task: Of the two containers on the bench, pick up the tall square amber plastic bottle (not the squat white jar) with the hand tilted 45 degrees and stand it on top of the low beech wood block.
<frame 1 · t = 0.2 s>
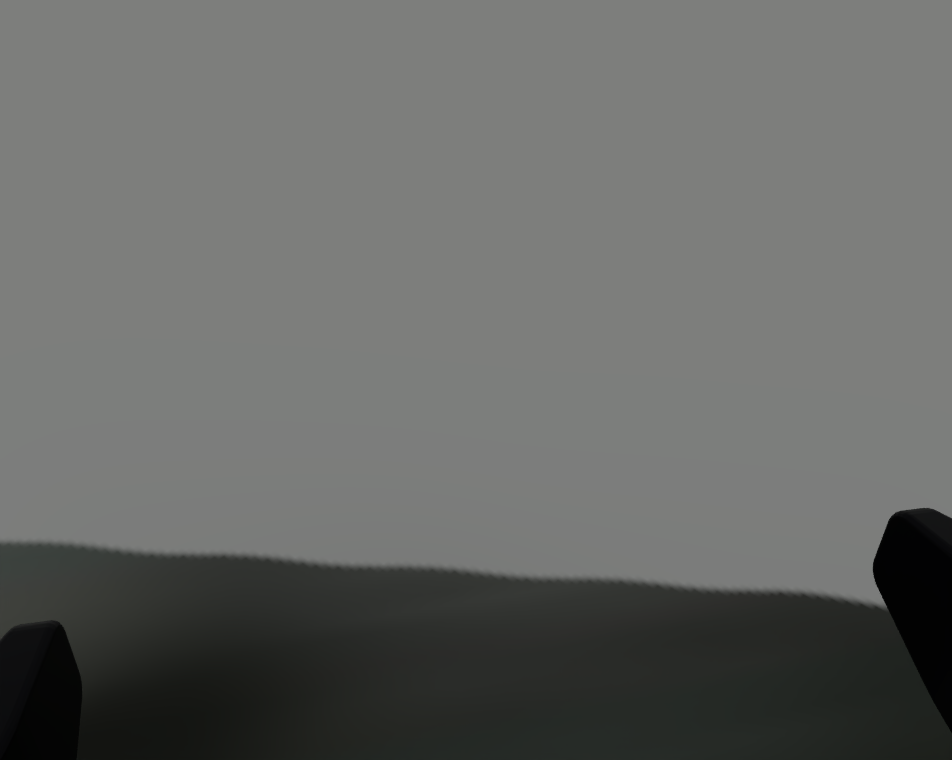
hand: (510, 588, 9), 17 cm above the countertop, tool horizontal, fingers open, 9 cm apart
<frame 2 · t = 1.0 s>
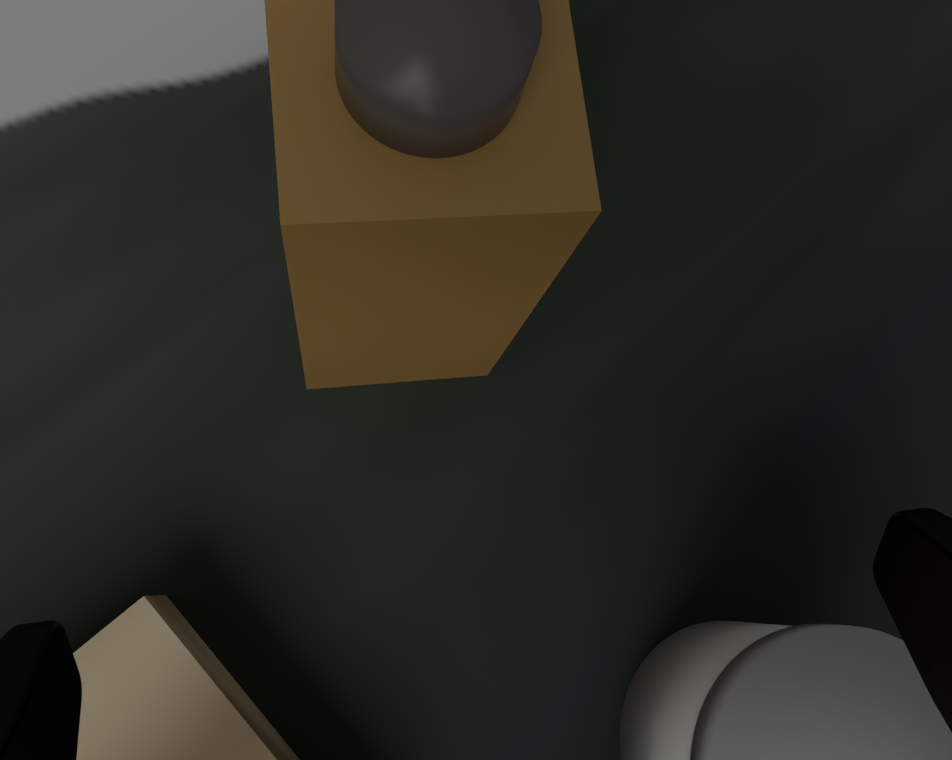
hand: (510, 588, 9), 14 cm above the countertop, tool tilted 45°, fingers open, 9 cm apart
white jar: (727, 737, 23), on the countertop
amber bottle: (390, 296, 24), on the countertop
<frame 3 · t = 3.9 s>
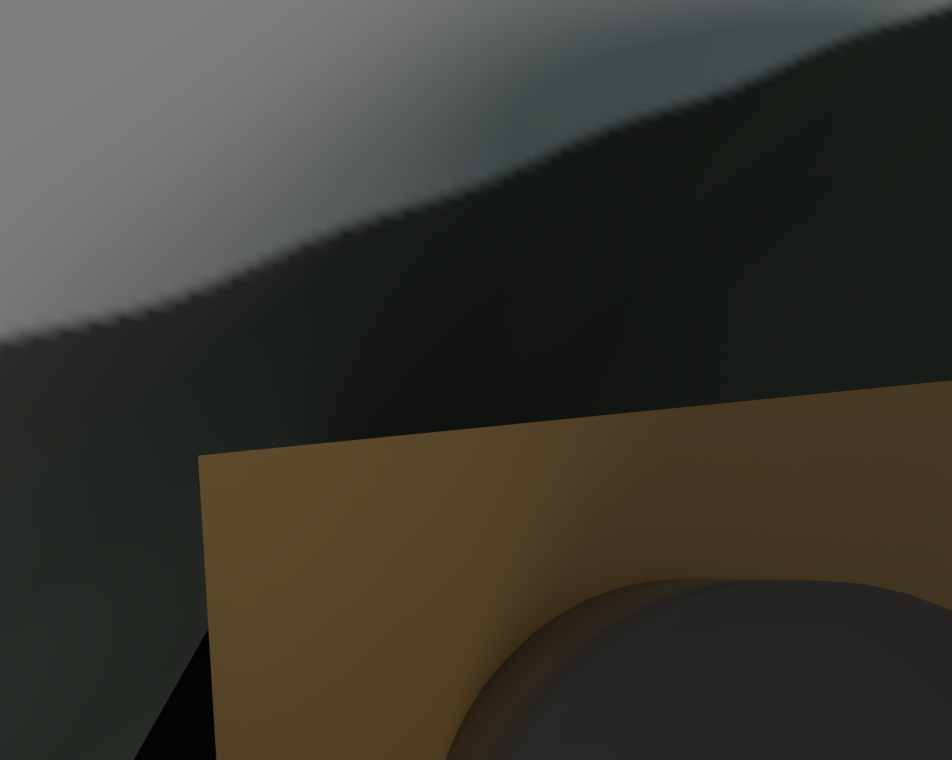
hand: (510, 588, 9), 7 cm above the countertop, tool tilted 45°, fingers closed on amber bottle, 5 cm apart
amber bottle: (448, 662, 15), on the countertop, touching gripper
when the fingers open (10 cm above the countertop, at t = 7.8 s): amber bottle stays where it is, point 3 cm above the countertop.
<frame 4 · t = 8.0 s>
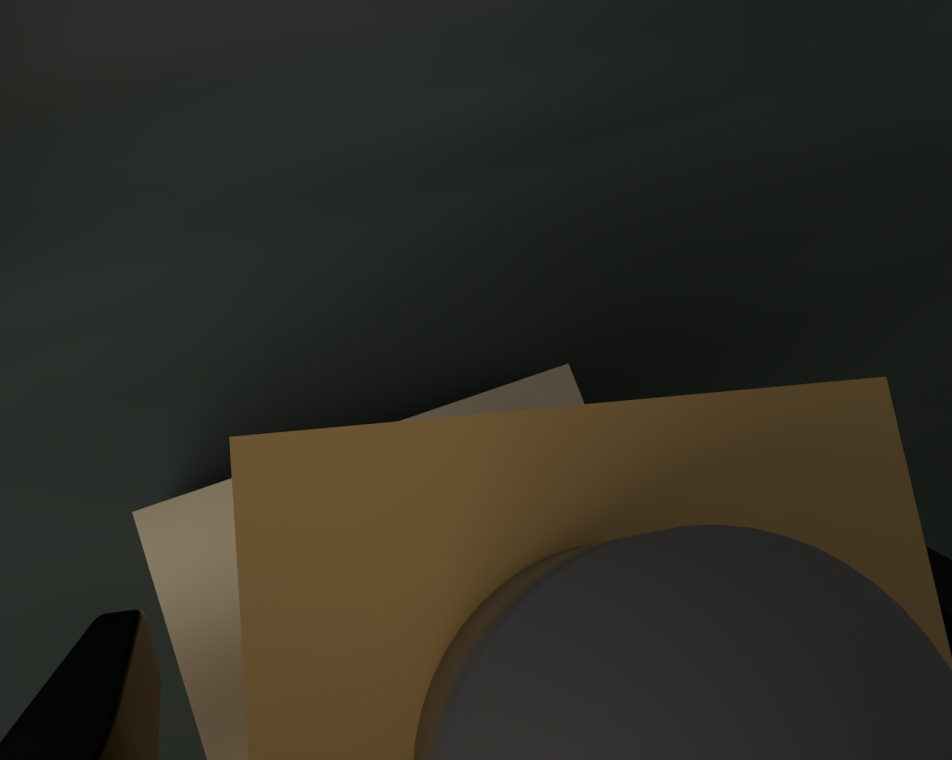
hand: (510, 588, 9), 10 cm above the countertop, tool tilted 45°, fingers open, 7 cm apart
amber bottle: (443, 656, 16), point 3 cm above the countertop
beech block: (425, 643, 19), on the countertop
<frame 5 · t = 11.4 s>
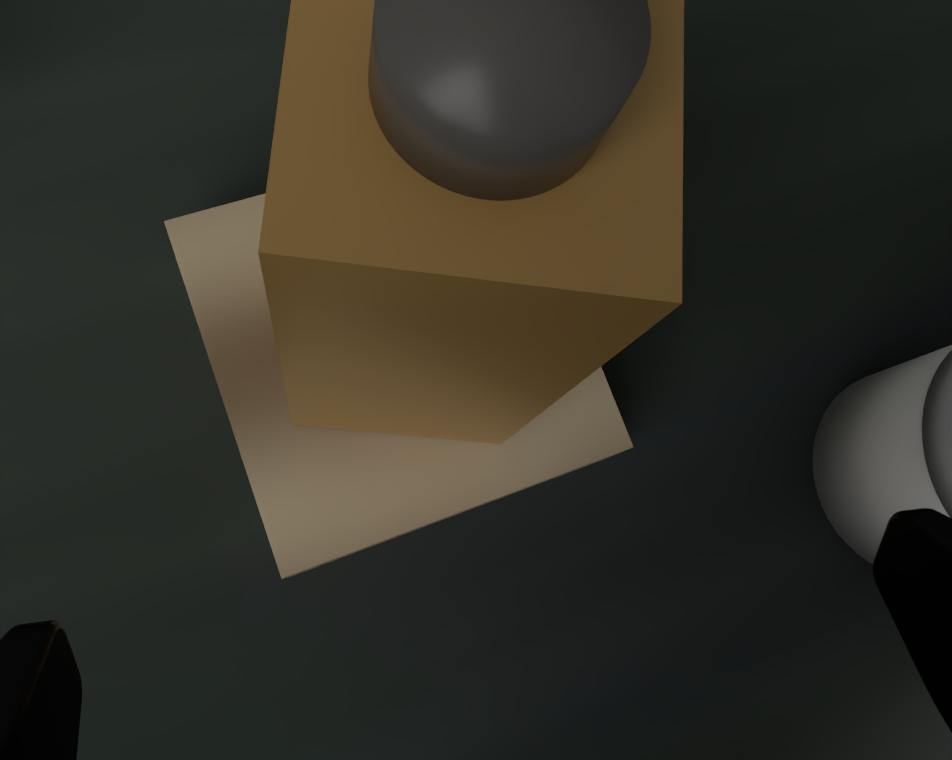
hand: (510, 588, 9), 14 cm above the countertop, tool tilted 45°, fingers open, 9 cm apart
white jar: (907, 472, 25), on the countertop
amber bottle: (407, 334, 21), point 2 cm above the countertop, touching beech block
beech block: (394, 363, 24), on the countertop, touching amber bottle
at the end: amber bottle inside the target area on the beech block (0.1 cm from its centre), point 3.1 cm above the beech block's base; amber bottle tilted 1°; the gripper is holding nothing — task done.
